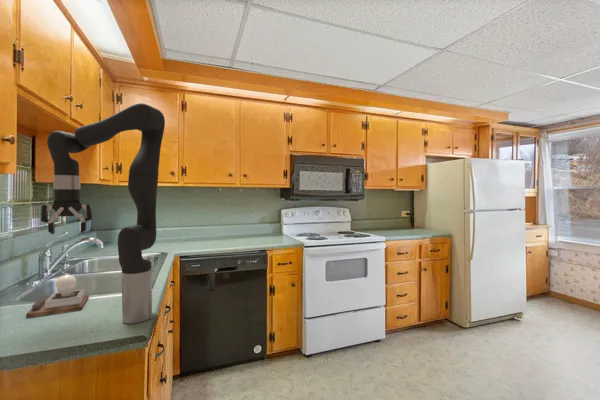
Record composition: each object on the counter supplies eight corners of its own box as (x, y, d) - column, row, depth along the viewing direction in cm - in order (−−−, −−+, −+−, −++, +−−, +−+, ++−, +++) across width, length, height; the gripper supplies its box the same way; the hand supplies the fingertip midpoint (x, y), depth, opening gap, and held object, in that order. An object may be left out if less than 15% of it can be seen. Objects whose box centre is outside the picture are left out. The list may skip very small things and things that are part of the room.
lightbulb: (52, 303, 112) (52, 275, 112) (71, 298, 118) (71, 271, 117) (61, 307, 109) (60, 278, 109) (80, 301, 115) (79, 274, 114)
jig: (88, 297, 123) (88, 287, 122) (81, 309, 110) (81, 298, 110) (39, 304, 115) (39, 293, 115) (26, 318, 103) (25, 305, 103)
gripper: (37, 187, 97) (38, 235, 98) (89, 188, 104) (90, 233, 104) (44, 188, 104) (45, 233, 104) (93, 188, 111) (93, 230, 111)
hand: (67, 233), depth 104 cm, fingers open, 8 cm apart
